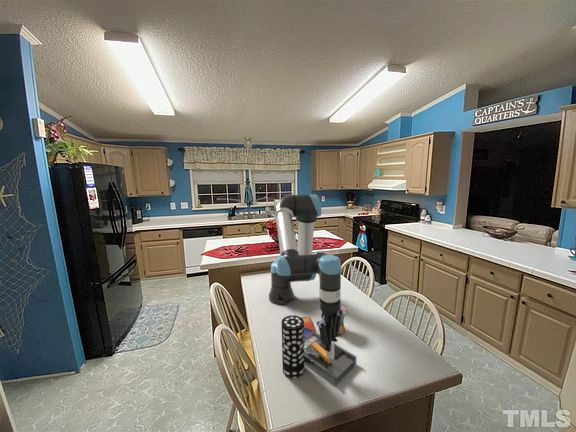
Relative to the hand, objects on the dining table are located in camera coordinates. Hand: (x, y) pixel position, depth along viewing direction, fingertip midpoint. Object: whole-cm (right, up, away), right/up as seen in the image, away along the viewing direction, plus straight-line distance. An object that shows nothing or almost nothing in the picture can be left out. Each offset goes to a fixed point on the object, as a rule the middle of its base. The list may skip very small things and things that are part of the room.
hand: (330, 356), depth 91 cm
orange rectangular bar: (-3, -1, +3) cm, 4 cm away
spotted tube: (-14, -6, +1) cm, 15 cm away
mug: (+7, -1, +25) cm, 26 cm away
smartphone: (-7, -2, +26) cm, 27 cm away
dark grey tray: (-2, -4, +6) cm, 8 cm away
